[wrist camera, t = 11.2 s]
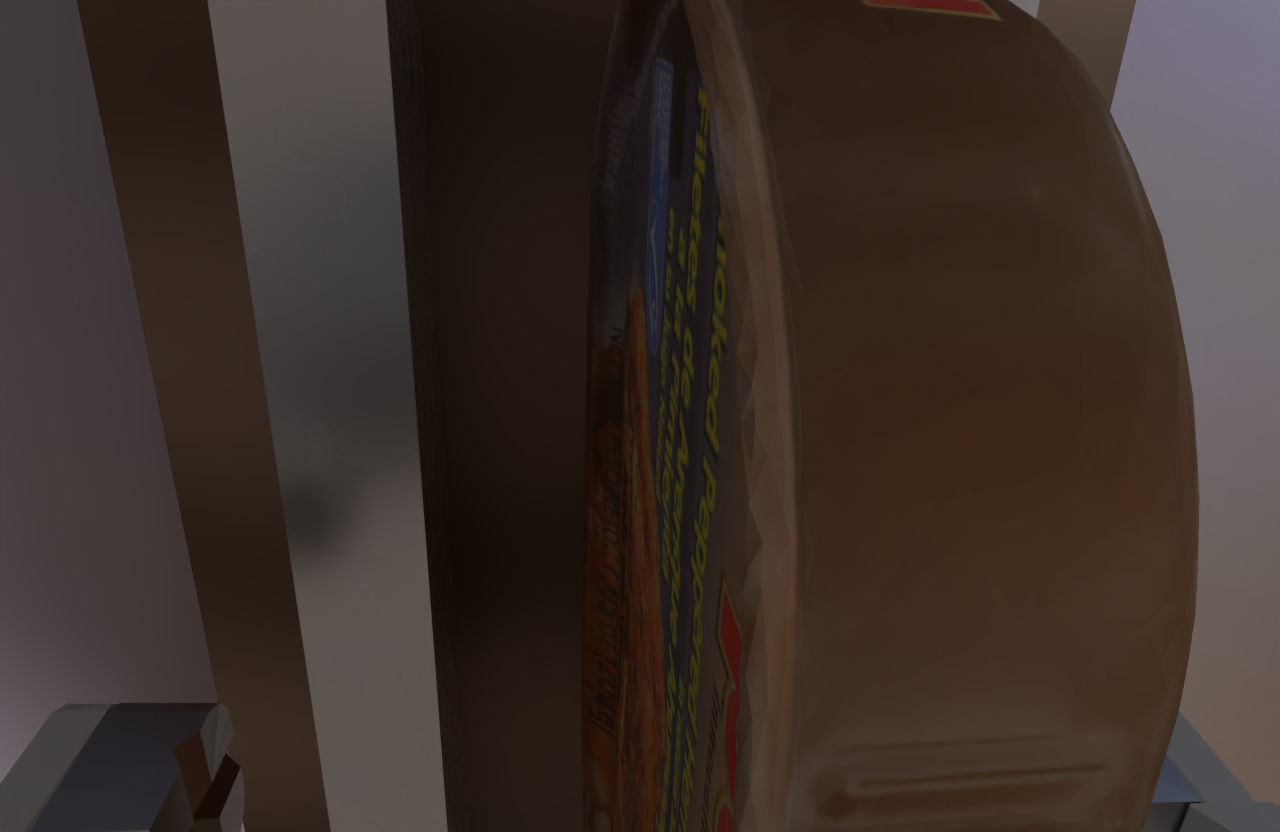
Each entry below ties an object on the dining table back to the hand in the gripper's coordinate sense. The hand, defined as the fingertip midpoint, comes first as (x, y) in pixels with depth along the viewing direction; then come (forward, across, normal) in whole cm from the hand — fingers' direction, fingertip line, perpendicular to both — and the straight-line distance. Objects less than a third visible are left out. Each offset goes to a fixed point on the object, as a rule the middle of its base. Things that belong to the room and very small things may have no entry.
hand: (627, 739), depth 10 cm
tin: (+4, -1, 0) cm, 4 cm away
